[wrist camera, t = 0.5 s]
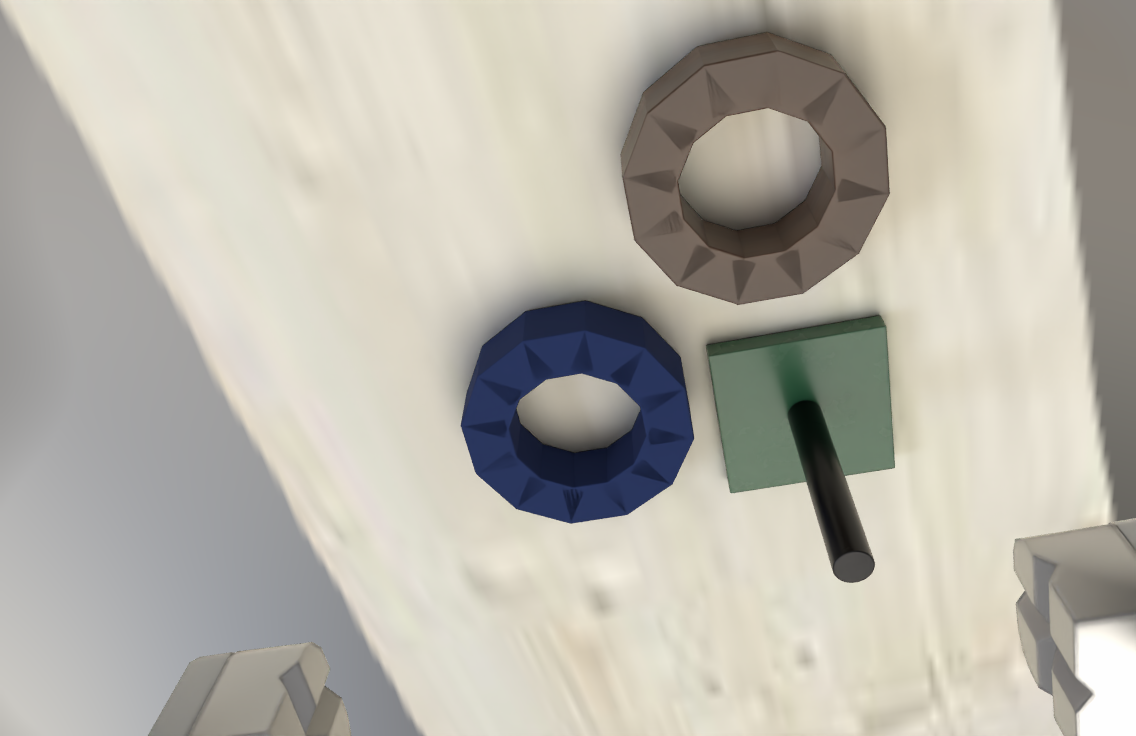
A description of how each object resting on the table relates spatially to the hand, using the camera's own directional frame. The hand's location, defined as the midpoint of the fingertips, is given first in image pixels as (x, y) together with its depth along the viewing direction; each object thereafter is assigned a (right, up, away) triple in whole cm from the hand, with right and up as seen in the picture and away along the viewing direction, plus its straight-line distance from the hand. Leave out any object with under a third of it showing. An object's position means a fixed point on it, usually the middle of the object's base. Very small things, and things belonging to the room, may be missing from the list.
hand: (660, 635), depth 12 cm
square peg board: (+11, +1, +44) cm, 46 cm away
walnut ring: (+7, +13, +37) cm, 40 cm away
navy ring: (-1, +1, +44) cm, 45 cm away
